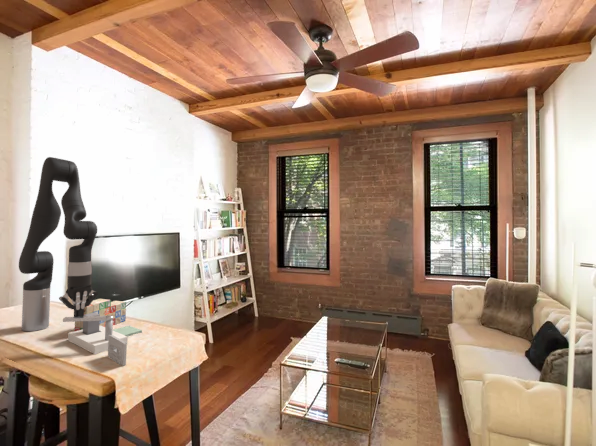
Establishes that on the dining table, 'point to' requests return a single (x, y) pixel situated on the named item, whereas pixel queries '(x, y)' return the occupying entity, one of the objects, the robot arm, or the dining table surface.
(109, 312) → the stack of blocks
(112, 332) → the socket block
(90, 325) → the plug
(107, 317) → the clip
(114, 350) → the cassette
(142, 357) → the dining table surface
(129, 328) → the mat
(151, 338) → the dining table surface
